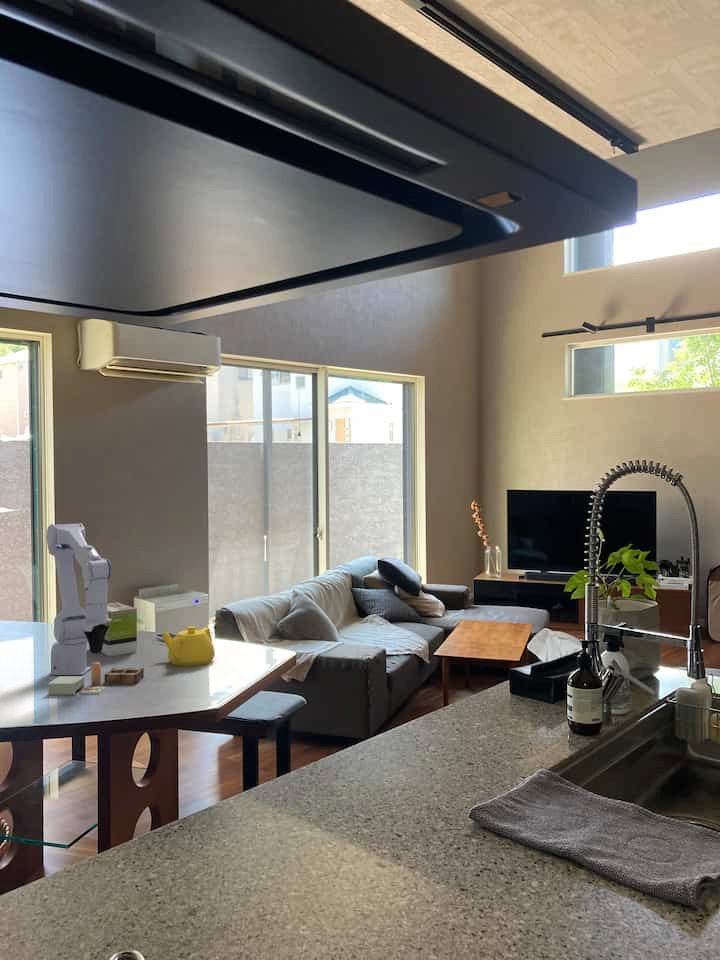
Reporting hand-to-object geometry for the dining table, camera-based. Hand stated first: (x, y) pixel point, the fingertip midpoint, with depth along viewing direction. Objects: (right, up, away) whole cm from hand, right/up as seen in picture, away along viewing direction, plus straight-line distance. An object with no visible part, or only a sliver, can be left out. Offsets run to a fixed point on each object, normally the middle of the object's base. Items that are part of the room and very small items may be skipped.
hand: (96, 652), depth 210 cm
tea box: (-9, -9, +41) cm, 43 cm away
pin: (0, -9, 0) cm, 9 cm away
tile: (+2, -9, -6) cm, 11 cm away
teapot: (+19, -9, +27) cm, 34 cm away
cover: (-6, -9, -7) cm, 12 cm away
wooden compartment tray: (+6, -9, +5) cm, 12 cm away
